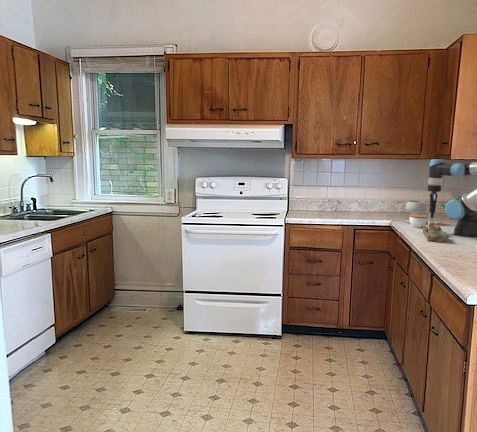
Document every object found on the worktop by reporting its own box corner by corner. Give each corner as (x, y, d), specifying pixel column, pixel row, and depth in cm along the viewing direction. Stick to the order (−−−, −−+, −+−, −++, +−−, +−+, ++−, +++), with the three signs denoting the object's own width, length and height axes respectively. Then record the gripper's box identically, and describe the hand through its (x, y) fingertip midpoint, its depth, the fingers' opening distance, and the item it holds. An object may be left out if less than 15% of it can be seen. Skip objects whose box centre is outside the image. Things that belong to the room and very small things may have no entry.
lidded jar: (411, 224, 288) (412, 211, 286) (428, 227, 281) (429, 213, 279) (406, 226, 279) (407, 212, 278) (423, 229, 273) (424, 214, 271)
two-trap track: (438, 233, 258) (439, 224, 257) (445, 242, 232) (446, 231, 231) (422, 232, 260) (423, 223, 259) (427, 241, 235) (428, 230, 234)
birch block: (435, 229, 256) (436, 221, 255) (436, 230, 252) (437, 223, 251) (427, 228, 257) (428, 221, 256) (428, 229, 253) (429, 222, 252)
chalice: (418, 225, 287) (420, 203, 285) (400, 221, 299) (402, 200, 297) (430, 223, 295) (432, 202, 293) (412, 220, 307) (414, 200, 304)
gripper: (426, 183, 265) (423, 220, 268) (429, 185, 253) (425, 224, 256) (439, 184, 262) (436, 221, 266) (442, 185, 250) (439, 225, 254)
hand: (431, 222), depth 261 cm, fingers closed
